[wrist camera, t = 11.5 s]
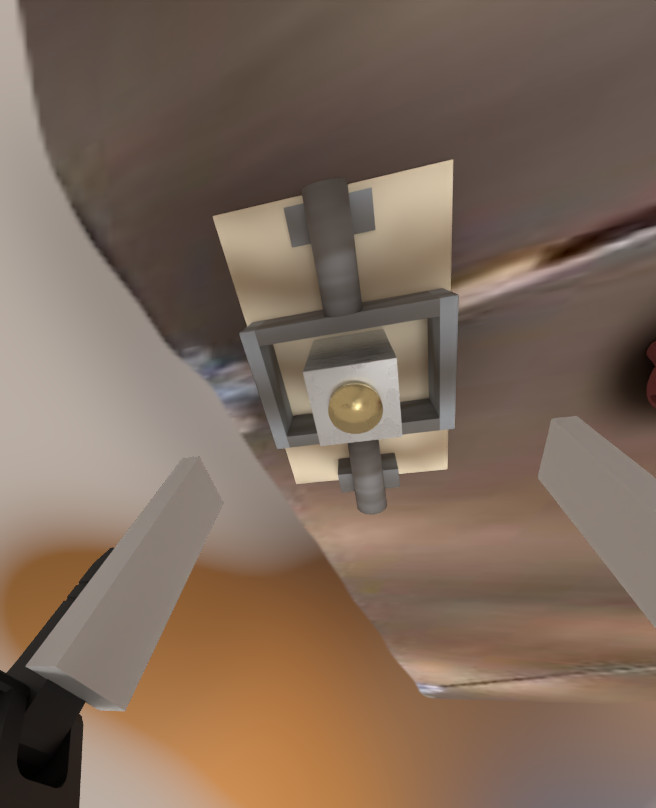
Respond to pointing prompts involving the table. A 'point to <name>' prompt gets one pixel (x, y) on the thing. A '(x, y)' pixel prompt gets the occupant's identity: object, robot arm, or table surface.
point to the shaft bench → (352, 314)
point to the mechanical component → (652, 376)
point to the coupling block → (354, 388)
